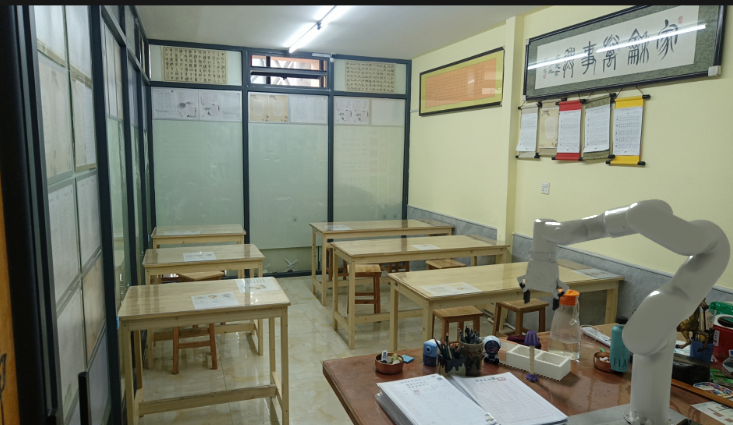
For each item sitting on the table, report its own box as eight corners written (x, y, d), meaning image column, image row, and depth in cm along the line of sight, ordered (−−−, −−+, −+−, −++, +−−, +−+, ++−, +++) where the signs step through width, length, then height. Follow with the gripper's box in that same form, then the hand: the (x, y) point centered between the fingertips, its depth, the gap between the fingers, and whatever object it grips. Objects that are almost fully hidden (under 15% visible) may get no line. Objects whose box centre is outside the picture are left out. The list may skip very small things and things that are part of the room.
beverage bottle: (610, 374, 166) (613, 319, 164) (606, 367, 172) (609, 313, 170) (631, 377, 164) (634, 320, 162) (626, 369, 170) (630, 314, 168)
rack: (559, 381, 160) (559, 366, 160) (483, 359, 179) (483, 345, 178) (569, 371, 168) (570, 357, 168) (496, 350, 187) (496, 337, 186)
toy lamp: (528, 383, 160) (530, 334, 158) (520, 377, 164) (522, 330, 162) (540, 381, 161) (542, 333, 159) (532, 375, 165) (534, 328, 164)
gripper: (514, 253, 160) (511, 303, 163) (566, 262, 149) (562, 315, 151) (523, 250, 166) (521, 298, 168) (574, 258, 154) (571, 309, 156)
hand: (540, 306), depth 160 cm, fingers open, 9 cm apart
